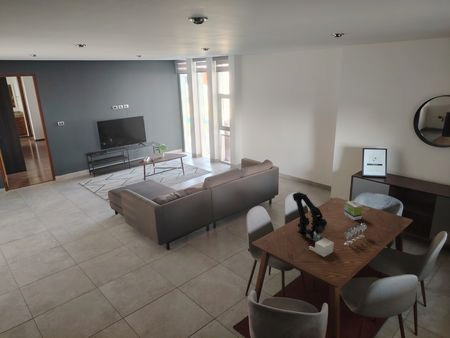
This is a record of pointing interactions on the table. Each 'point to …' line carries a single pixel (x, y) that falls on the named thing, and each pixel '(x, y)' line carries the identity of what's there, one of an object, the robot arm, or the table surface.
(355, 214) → the tea box
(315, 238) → the tray
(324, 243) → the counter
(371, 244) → the table surface
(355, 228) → the goblet set
